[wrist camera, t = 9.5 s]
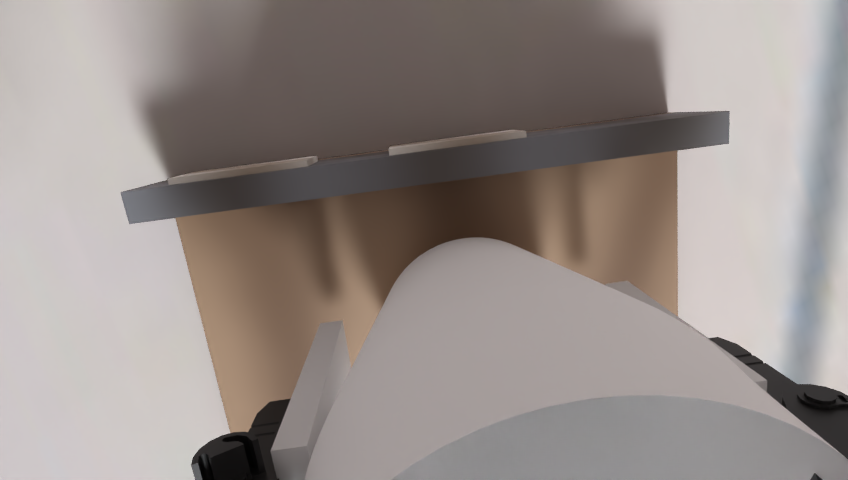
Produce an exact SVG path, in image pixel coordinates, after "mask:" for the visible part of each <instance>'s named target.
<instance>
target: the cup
mask: <svg viewBox="0 0 848 480" xmlns="http://www.w3.org/2000/svg"><path fill="white" fill-rule="evenodd" d="M814 473H816V474H817V475H818V476H819V477H820V478H821V479H822V480H848V459H847V458H846V457H845V456H843V455H842V454H841V453H840V452H838V451H837V450H836V449H835V448H834V447H832V446H831V445H830V444H829V443H827V442H826V441H825V440H824V439H823V438H821V437H820V436H819V435H818V434H816V433H815V432H814V431H813V430H811V429H810V428H809V427H808V426H807V425H805V424H804V423H803V422H802V421H800V420H799V419H798V418H797V417H796V416H794V415H793V414H792V413H791V412H789V411H788V410H787V409H786V408H785V407H783V406H782V405H781V404H780V403H779V402H777V401H776V400H775V399H774V398H773V397H771V396H770V395H769V394H768V393H767V392H766V391H764V390H763V389H762V388H761V387H760V386H759V385H757V384H756V383H755V382H754V381H753V380H751V379H750V378H749V377H748V376H747V375H746V374H745V373H744V372H743V371H742V370H741V369H740V368H739V367H738V366H737V365H736V364H735V363H734V362H733V361H732V360H731V359H730V358H729V357H727V356H726V355H725V354H724V353H723V352H722V351H721V350H720V349H719V348H717V347H716V346H715V345H714V344H713V343H712V342H711V341H709V340H708V339H706V338H705V337H704V336H702V335H701V334H699V333H698V332H697V331H695V330H694V329H692V328H691V327H689V326H687V325H686V324H684V323H682V322H680V321H679V320H677V319H675V318H673V317H672V316H670V315H668V314H666V313H664V312H663V311H661V310H659V309H657V308H655V307H653V306H651V305H648V304H646V303H644V302H642V301H639V300H637V299H635V298H633V297H631V296H628V295H626V294H624V293H622V292H619V291H617V290H615V289H613V288H610V287H608V286H606V285H604V284H601V283H599V282H597V281H594V280H592V279H590V278H588V277H585V276H583V275H581V274H579V273H576V272H574V271H572V270H569V269H567V268H565V267H563V266H560V265H558V264H556V263H554V262H551V261H549V260H547V259H544V258H542V257H540V256H538V255H535V254H533V253H531V252H528V251H526V250H524V249H522V248H519V247H517V246H515V245H512V244H510V243H507V242H504V241H501V240H496V239H491V238H482V237H472V238H462V239H457V240H452V241H449V242H445V243H443V244H440V245H438V246H436V247H434V248H432V249H430V250H428V251H426V252H425V253H423V254H422V255H420V256H419V257H417V258H416V259H415V260H414V261H413V262H411V263H410V264H409V265H408V266H407V267H406V268H405V270H404V271H403V272H402V273H401V274H400V276H399V277H398V278H397V280H396V281H395V283H394V285H393V287H392V288H391V290H390V292H389V294H388V296H387V298H386V300H385V302H384V304H383V306H382V308H381V310H380V312H379V314H378V316H377V318H376V320H375V322H374V324H373V326H372V328H371V330H370V332H369V334H368V336H367V338H366V340H365V342H364V344H363V346H362V348H361V350H360V352H359V354H358V356H357V358H356V360H355V362H354V364H353V366H352V368H351V370H350V372H349V374H348V376H347V378H346V380H345V382H344V384H343V386H342V388H341V390H340V392H339V394H338V396H337V398H336V400H335V402H334V404H333V406H332V408H331V410H330V412H329V414H328V416H327V418H326V421H325V423H324V425H323V427H322V430H321V432H320V434H319V437H318V439H317V442H316V444H315V447H314V450H313V452H312V456H311V459H310V462H309V465H308V468H307V472H306V476H305V480H810V479H811V478H812V476H813V474H814Z"/></svg>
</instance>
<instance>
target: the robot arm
mask: <svg viewBox="0 0 848 480" xmlns="http://www.w3.org/2000/svg"><path fill="white" fill-rule="evenodd" d="M605 285H606V286H608V287H610V288H613V289H615V290H617V291H619V292H622V293H624V294H626V295H628V296H631V297H633V298H635V299H637V300H639V301H642V302H644V303H646V304H648V305H651V306H653V307H655V308H657V309H659V310H661V311H663V312H664V313H666V314H668V315H670V316H672V317H673V318H675V319H677V320H679V321H680V322H682V323H684V324H686V325H687V326H689V327H691V328H692V329H694V328H693V327H692V326H690V325H689V324H687V323H686V322H685V321H683V320H682V319H680V318H679V317H678V316H676V315H675V314H673V313H672V312H670V311H669V310H668V309H666V308H665V307H663V306H662V305H661V304H659V303H658V302H656V301H655V300H654V299H652V298H651V297H649V296H648V295H647V294H645V293H644V292H642V291H641V290H640V289H638V288H637V287H635V286H634V285H633V284H631V283H630V282H628V281H623V282H616V283H608V284H605ZM694 330H695V331H697V330H696V329H694ZM697 332H698V333H699V334H701V333H700V332H699V331H697ZM701 335H702V336H704V335H703V334H701ZM704 337H705V338H706V339H708V340H709V341H711V342H712V343H713V344H714V345H715V346H716V347H717V348H719V349H720V350H721V351H722V352H723V353H724V354H725V355H726V356H727V357H729V358H730V359H731V360H732V361H733V362H734V363H735V364H736V365H737V366H738V367H739V368H740V369H741V370H742V371H743V372H744V373H745V374H746V375H747V376H748V377H749V378H750V379H751V380H753V381H754V382H755V383H756V384H757V385H759V386H760V387H761V388H762V389H763V390H764V391H766V392H767V393H768V394H769V395H770V396H771V397H773V398H774V399H775V400H776V401H777V402H779V403H780V404H781V405H782V406H783V407H785V408H786V409H787V410H788V411H789V412H791V413H792V414H793V415H794V416H796V417H797V418H798V419H799V420H800V421H802V422H803V423H804V424H805V425H807V426H808V427H809V428H810V429H811V430H813V431H814V432H815V433H816V434H818V435H819V436H820V437H821V438H823V439H824V440H825V441H826V442H827V443H829V444H830V445H831V446H832V447H834V448H835V449H836V450H837V451H838V452H840V453H841V454H842V455H843V456H845V457H846V458H847V459H848V396H847V395H845V394H844V393H842V392H840V391H837V390H834V389H830V388H827V387H823V386H817V385H811V384H796V383H795V382H793V381H792V380H790V379H789V378H787V377H786V376H784V375H783V374H781V373H780V372H778V371H777V370H775V369H774V368H772V367H771V366H769V365H768V364H766V363H764V364H763V361H762V360H760V359H759V358H757V357H756V356H752V355H751V353H750V352H748V351H747V350H745V349H744V348H742V347H741V346H739V345H738V344H735V343H732V342H730V341H727V340H724V339H722V338H719V337H715V338H707V337H706V336H704ZM350 370H351V364H350V359H349V353H348V348H347V342H346V337H345V331H344V326H343V320H341V321H334V322H327V323H320V325H319V328H318V330H317V333H316V335H315V338H314V341H313V343H312V346H311V348H310V351H309V353H308V356H307V359H306V361H305V364H304V366H303V369H302V371H301V374H300V377H299V379H298V382H297V384H296V387H295V389H294V392H293V394H292V397H291V399H285V400H277V401H270V402H269V403H268V404H267V405H266V406H264V407H263V408H262V409H261V410H260V411H259V412H258V413H257V415H256V417H255V419H254V421H253V423H252V425H251V428H250V429H249V431H248V432H233V433H229V434H226V435H222V436H220V437H218V438H216V439H214V440H212V441H210V442H208V443H207V444H206V445H204V446H203V447H202V448H200V449H199V450H198V452H197V453H196V454H195V456H194V457H193V460H192V464H191V466H192V470H193V473H194V477H195V480H305V476H306V472H307V468H308V465H309V462H310V459H311V456H312V452H313V450H314V447H315V444H316V442H317V439H318V437H319V434H320V432H321V430H322V427H323V425H324V423H325V421H326V418H327V416H328V414H329V412H330V410H331V408H332V406H333V404H334V402H335V400H336V398H337V396H338V394H339V392H340V390H341V388H342V386H343V384H344V382H345V380H346V378H347V376H348V374H349V372H350ZM810 480H822V479H821V478H820V477H819V476H818V475H817V474H816V473H814V474H813V476H812V478H811V479H810Z"/></svg>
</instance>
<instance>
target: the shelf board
mask: <svg viewBox="0 0 848 480" xmlns="http://www.w3.org/2000/svg"><path fill="white" fill-rule="evenodd" d="M721 144H729V111H714V112H674V113H662V114H655V115H647V116H640V117H632V118H625V119H617V120H610V121H602V122H594V123H587V124H579V125H572V126H564V127H557V128H549V129H542V130H534V131H527V132H526V131H522V130H506V131H498V132H491V133H483V134H476V135H468V136H461V137H453V138H446V139H438V140H430V141H423V142H415V143H408V144H400V145H393V146H390V147H389V150H384V151H377V152H369V153H362V154H354V155H347V156H339V157H332V158H324V159H318V158H317V156H310V157H303V158H295V159H288V160H280V161H273V162H265V163H258V164H250V165H243V166H235V167H228V168H220V169H213V170H205V171H198V172H192V173H188V174H184V175H180V176H176V177H172V178H168V179H167V180H166V181H162V182H158V183H154V184H151V185H147V186H143V187H139V188H135V189H131V190H128V191H124V192H121V196H122V200H123V203H124V207H125V210H126V214H127V217H128V221H129V224H133V223H140V222H148V221H155V220H163V219H170V218H176V222H177V226H178V230H179V234H180V238H181V242H182V246H183V250H184V253H185V257H186V261H187V265H188V269H189V273H190V277H191V281H192V285H193V289H194V292H195V296H196V300H197V304H198V308H199V312H200V316H201V320H202V324H203V328H204V331H205V335H206V339H207V343H208V347H209V351H210V355H211V359H212V363H213V367H214V370H215V374H216V378H217V382H218V386H219V390H220V394H221V398H222V402H223V406H224V410H225V413H226V417H227V421H228V425H229V429H230V433H233V432H248V431H249V429H250V428H251V425H252V423H253V421H254V419H255V417H256V415H257V413H258V412H259V411H260V410H261V409H262V408H263V407H264V406H266V405H267V404H268V403H269V402H270V401H277V400H285V399H291V397H292V394H293V392H294V389H295V387H296V384H297V382H298V379H299V377H300V374H301V371H302V369H303V366H304V364H305V361H306V359H307V356H308V353H309V351H310V348H311V346H312V343H313V341H314V338H315V335H316V333H317V330H318V328H319V325H320V323H327V322H334V321H341V320H343V326H344V331H345V337H346V342H347V348H348V353H349V359H350V364H351V368H352V366H353V364H354V362H355V360H356V358H357V356H358V354H359V352H360V350H361V348H362V346H363V344H364V342H365V340H366V338H367V336H368V334H369V332H370V330H371V328H372V326H373V324H374V322H375V320H376V318H377V316H378V314H379V312H380V310H381V308H382V306H383V304H384V302H385V300H386V298H387V296H388V294H389V292H390V290H391V288H392V287H393V285H394V283H395V281H396V280H397V278H398V277H399V276H400V274H401V273H402V272H403V271H404V270H405V268H406V267H407V266H408V265H409V264H410V263H411V262H413V261H414V260H415V259H416V258H417V257H419V256H420V255H422V254H423V253H425V252H426V251H428V250H430V249H432V248H434V247H436V246H438V245H440V244H443V243H445V242H449V241H452V240H457V239H462V238H472V237H482V238H491V239H496V240H501V241H504V242H507V243H510V244H512V245H515V246H517V247H519V248H522V249H524V250H526V251H528V252H531V253H533V254H535V255H538V256H540V257H542V258H544V259H547V260H549V261H551V262H554V263H556V264H558V265H560V266H563V267H565V268H567V269H569V270H572V271H574V272H576V273H579V274H581V275H583V276H585V277H588V278H590V279H592V280H594V281H597V282H599V283H601V284H604V285H605V284H608V283H616V282H623V281H628V282H630V283H631V284H633V285H634V286H635V287H637V288H638V289H640V290H641V291H642V292H644V293H645V294H647V295H648V296H649V297H651V298H652V299H654V300H655V301H656V302H658V303H659V304H661V305H662V306H663V307H665V308H666V309H668V310H669V311H670V312H672V313H673V314H675V315H676V316H678V262H677V150H684V149H691V148H699V147H706V146H714V145H721Z"/></svg>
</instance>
